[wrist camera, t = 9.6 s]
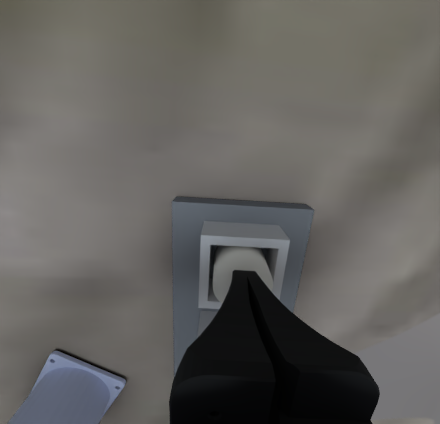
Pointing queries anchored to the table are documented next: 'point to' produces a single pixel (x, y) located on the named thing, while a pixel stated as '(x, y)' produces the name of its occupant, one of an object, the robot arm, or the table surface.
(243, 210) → the control panel
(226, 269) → the knob
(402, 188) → the table surface
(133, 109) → the table surface
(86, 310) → the table surface
